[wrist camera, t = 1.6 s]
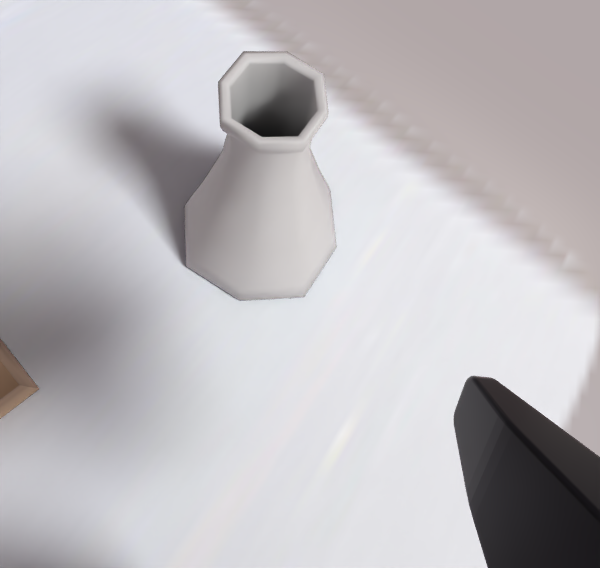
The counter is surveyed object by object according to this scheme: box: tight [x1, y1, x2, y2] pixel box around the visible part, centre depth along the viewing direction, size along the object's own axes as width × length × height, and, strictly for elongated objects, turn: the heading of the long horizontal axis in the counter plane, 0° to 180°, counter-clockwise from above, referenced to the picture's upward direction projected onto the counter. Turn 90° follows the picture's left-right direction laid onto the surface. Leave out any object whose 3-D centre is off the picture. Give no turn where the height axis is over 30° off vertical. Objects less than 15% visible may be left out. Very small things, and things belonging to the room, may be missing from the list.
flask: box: [184, 51, 337, 301], centre depth 19 cm, size 7×7×10 cm
